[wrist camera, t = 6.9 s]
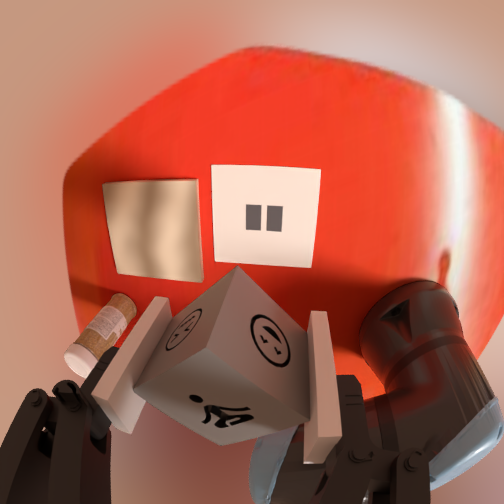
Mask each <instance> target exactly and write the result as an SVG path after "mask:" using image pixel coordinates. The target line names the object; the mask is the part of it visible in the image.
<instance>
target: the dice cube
mask: <svg viewBox="0 0 504 504" xmlns="http://www.w3.org/2000/svg"><path fill="white" fill-rule="evenodd" d="M133 391H134V393H135V394H137V395H138V396H140V397H141V398H142V399H144V400H145V401H147V402H148V403H150V404H151V405H152V406H154V407H155V408H157V409H158V410H160V411H161V412H163V413H164V414H166V415H168V416H169V417H171V418H172V419H174V420H176V421H177V422H179V423H180V424H182V425H184V426H185V427H187V428H189V429H191V430H192V431H194V432H196V433H198V434H199V435H202V436H203V437H205V438H207V439H209V440H211V441H213V442H215V443H216V444H218V445H220V446H222V445H226V444H231V443H236V442H240V441H245V440H249V439H252V438H257V437H260V436H264V435H268V434H271V433H275V432H278V431H281V430H284V429H287V428H291V427H294V426H297V425H299V424H302V423H305V422H308V421H310V382H309V356H308V336H307V332H306V331H305V330H304V329H303V328H302V327H301V326H300V325H299V324H297V323H296V322H295V321H294V320H293V319H292V318H291V317H290V316H289V315H288V314H287V313H286V312H285V311H284V310H283V309H282V308H281V307H280V306H279V305H278V304H277V303H276V302H275V301H274V300H273V299H271V298H270V297H269V296H268V295H267V294H266V293H265V292H264V291H263V290H262V289H261V288H260V287H259V286H258V285H257V284H256V283H255V282H254V281H253V280H252V279H251V278H250V277H249V276H248V275H247V274H246V273H245V272H244V271H243V270H242V269H241V268H240V267H239V266H238V265H237V266H236V267H235V268H234V269H232V270H231V271H230V272H229V273H228V274H226V275H225V276H224V277H223V278H221V279H220V280H219V281H218V282H216V283H215V284H214V285H213V286H211V287H210V288H209V289H208V290H206V291H205V292H204V293H203V294H202V295H200V296H199V297H198V298H197V299H195V300H194V301H193V302H192V303H190V304H189V305H188V306H187V307H185V308H184V309H183V310H182V311H180V312H179V313H178V314H177V315H176V316H174V317H173V318H172V319H171V321H170V323H169V325H168V326H167V328H166V330H165V332H164V333H163V335H162V337H161V339H160V340H159V342H158V344H157V346H156V348H155V349H154V351H153V353H152V355H151V357H150V358H149V360H148V362H147V364H146V366H145V367H144V369H143V371H142V373H141V375H140V377H139V378H138V380H137V382H136V384H135V386H134V388H133Z"/></svg>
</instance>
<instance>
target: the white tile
mask: <svg viewBox="0 0 504 504" xmlns="http://www.w3.org/2000/svg"><path fill="white" fill-rule="evenodd" d="M211 170H212V209H213V235H214V256H215V261H217V262H231V263H245V264H259V265H274V266H289V267H305V268H311V265H312V257H313V248H314V240H315V231H316V221H317V211H318V200H319V189H320V176H321V169H310V168H297V167H280V166H258V165H211Z"/></svg>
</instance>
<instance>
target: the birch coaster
mask: <svg viewBox="0 0 504 504" xmlns="http://www.w3.org/2000/svg"><path fill="white" fill-rule="evenodd" d="M102 187H103V196H104V203H105V210H106V217H107V223H108V229H109V234H110V240H111V245H112V250H113V255H114V259H115V264H116V268H117V272H118V273H119V274H127V275H135V276H143V277H152V278H161V279H170V280H180V281H190V282H200V283H202V281H203V279H204V272H203V259H202V245H201V229H200V211H199V188H198V179H163V180H138V181H120V182H107V183H104V184H102Z"/></svg>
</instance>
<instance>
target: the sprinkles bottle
mask: <svg viewBox="0 0 504 504" xmlns="http://www.w3.org/2000/svg"><path fill="white" fill-rule="evenodd" d="M136 312H137V309H136V306H135V304H134V302H133V301H132V300H131V299H130V298H129V297H128V296H126V295H124V294H122V293H117V294H114V295H113V296H112V298H111V300H110V301H109V302H108V303H107V304H106V306H104V307H103V308H102V309H101V311H100V312H99V313H98V314H97V315H96V316H95V317H94V319H93V320H92V321H91V322H90V323H89V325H88V326H87V327H86V328H85V329H84V331H83V332H82V334H81V335H80V336H79V338H78V339H77V340H76V341H75V342H74V343H73V344H71V345H70V346H69V348H68V349H67V350H66V352H65V353H64V359H65V361H66V363H67V364H68V366H69V367H70V368H71V369H72V370H73V371H74V372H75V373H77V374H78V375H80V376H81V377H83V378H87V377H88V375H89V374H90V372H91V371H92V369H93V368H94V366H95V365H96V363H97V362H98V360H99V359H100V357H101V356H102V354H103V353H104V352H105V351H106V350H108V349H109V348H110V347H112V346H114V344H115V343H116V341H117V340H118V339H119V337H120V336H121V334H122V333H123V331H124V330H125V329H126V327H127V325H128V324H129V322H130V321H131V320H132V318H134V317H135V315H136Z"/></svg>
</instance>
